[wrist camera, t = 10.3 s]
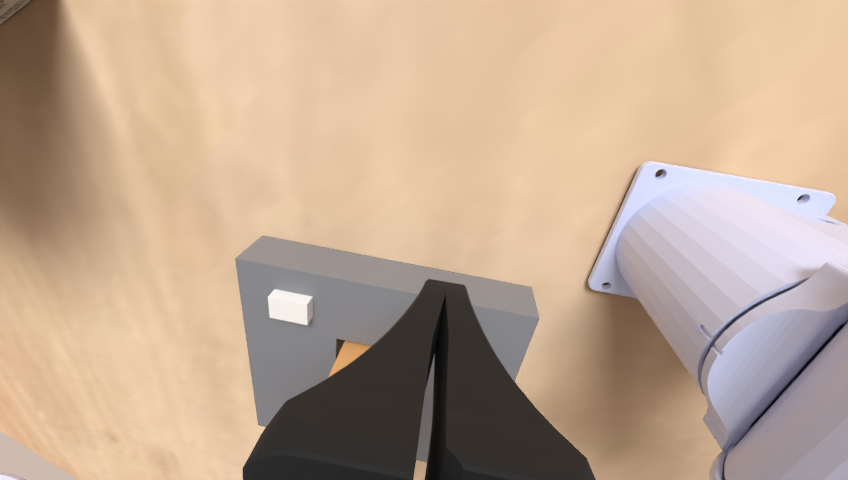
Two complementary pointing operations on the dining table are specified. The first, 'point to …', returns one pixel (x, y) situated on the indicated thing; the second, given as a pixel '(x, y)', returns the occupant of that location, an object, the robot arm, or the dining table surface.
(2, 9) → the coffee box
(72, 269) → the dining table surface
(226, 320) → the dining table surface
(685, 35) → the dining table surface
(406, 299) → the socket plate
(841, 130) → the dining table surface
